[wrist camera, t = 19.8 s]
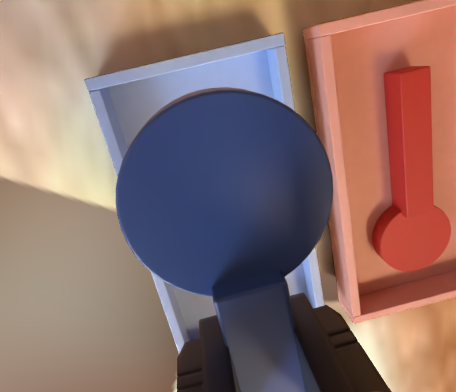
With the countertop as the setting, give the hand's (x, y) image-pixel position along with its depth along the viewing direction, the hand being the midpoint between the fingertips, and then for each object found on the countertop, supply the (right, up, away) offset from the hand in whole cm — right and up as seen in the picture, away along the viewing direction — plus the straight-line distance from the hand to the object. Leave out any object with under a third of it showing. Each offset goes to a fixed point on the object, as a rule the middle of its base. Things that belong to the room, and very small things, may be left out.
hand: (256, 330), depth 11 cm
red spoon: (+11, +5, +13) cm, 18 cm away
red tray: (+10, +6, +13) cm, 18 cm away
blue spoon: (0, 0, 0) cm, 0 cm away
